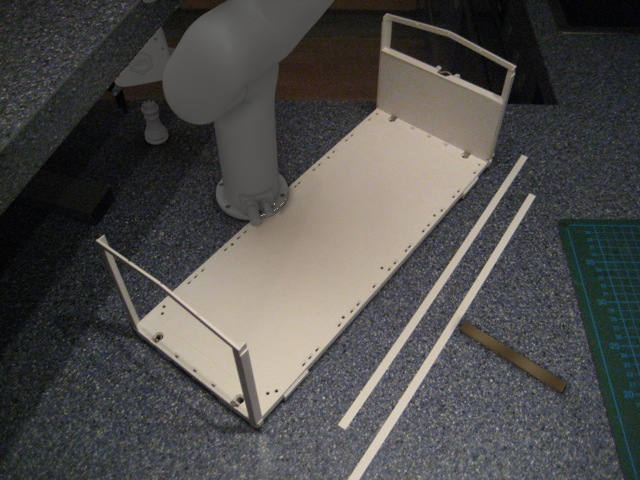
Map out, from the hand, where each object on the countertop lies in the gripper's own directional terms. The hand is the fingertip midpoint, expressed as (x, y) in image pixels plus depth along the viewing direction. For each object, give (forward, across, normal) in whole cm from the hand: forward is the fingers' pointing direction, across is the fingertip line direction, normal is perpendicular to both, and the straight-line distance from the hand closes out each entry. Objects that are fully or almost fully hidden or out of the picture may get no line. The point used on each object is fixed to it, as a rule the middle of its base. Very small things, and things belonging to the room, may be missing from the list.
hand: (152, 104), depth 112 cm
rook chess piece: (+8, -1, +1) cm, 9 cm away
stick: (+12, +41, -61) cm, 74 cm away
